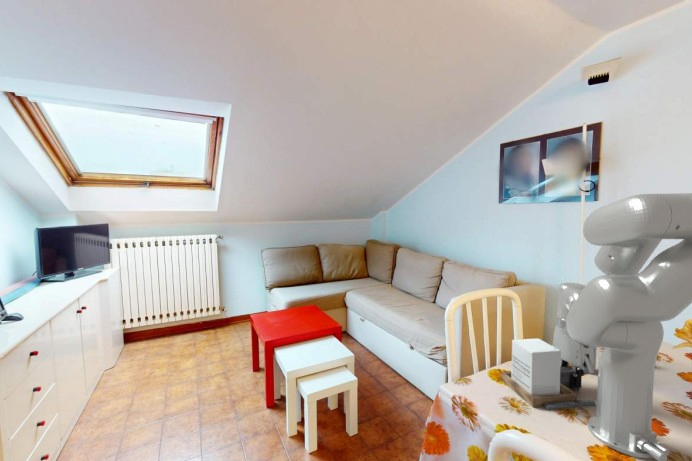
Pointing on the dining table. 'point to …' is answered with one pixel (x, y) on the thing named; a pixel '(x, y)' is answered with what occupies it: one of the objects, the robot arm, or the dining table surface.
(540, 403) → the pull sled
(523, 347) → the supplement box
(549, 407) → the lane rails
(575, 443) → the dining table surface
